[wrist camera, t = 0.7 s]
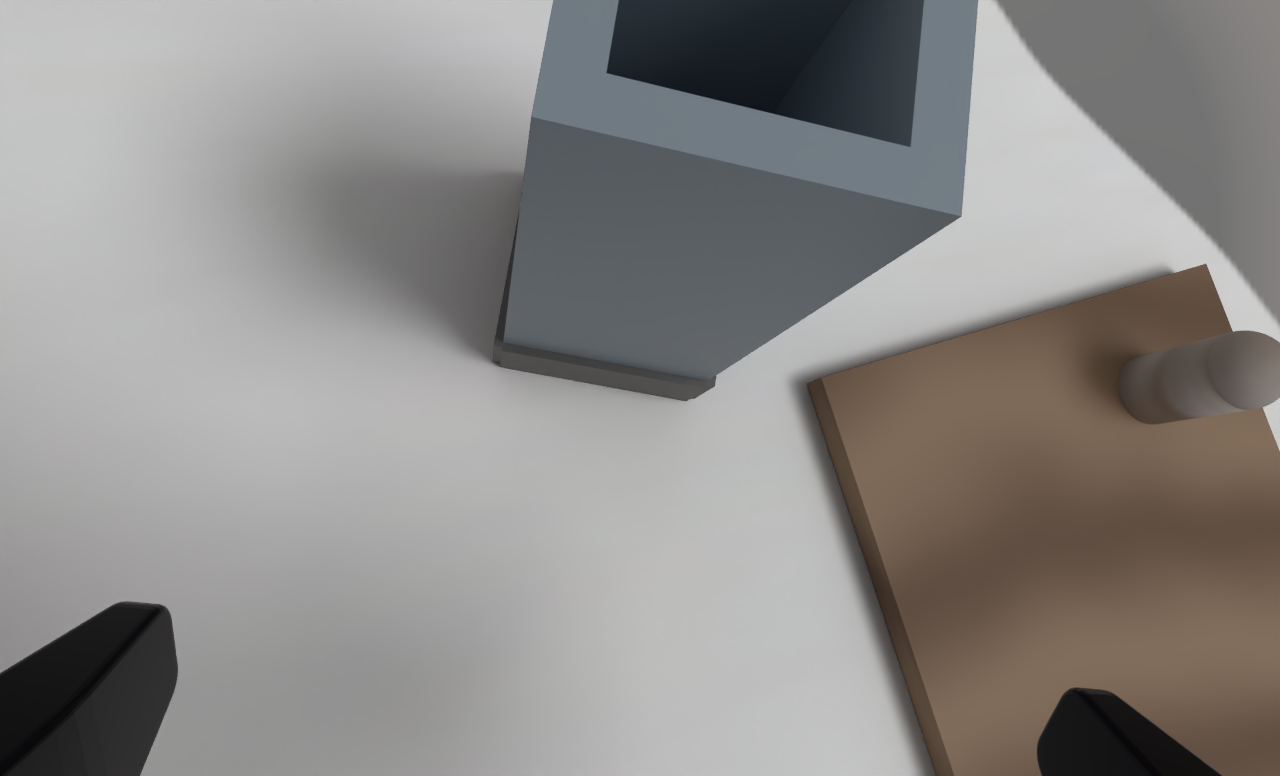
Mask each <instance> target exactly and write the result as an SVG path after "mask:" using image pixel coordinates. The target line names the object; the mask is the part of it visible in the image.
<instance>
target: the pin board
mask: <svg viewBox="0 0 1280 776" xmlns="http://www.w3.org/2000/svg"><path fill="white" fill-rule="evenodd" d="M807 386H808V389H809V392H810V395H811V398H812V401H813V404H814V407H815V410H816V413H817V416H818V419H819V422H820V425H821V428H822V431H823V434H824V437H825V440H826V443H827V446H828V449H829V452H830V455H831V458H832V461H833V464H834V467H835V470H836V473H837V476H838V479H839V482H840V485H841V488H842V491H843V494H844V497H845V500H846V503H847V506H848V509H849V512H850V516H851V519H852V522H853V525H854V528H855V531H856V534H857V537H858V540H859V543H860V546H861V549H862V552H863V555H864V558H865V561H866V564H867V567H868V570H869V573H870V576H871V579H872V582H873V585H874V588H875V591H876V594H877V597H878V600H879V603H880V606H881V609H882V612H883V615H884V618H885V621H886V624H887V627H888V630H889V633H890V636H891V639H892V642H893V645H894V648H895V651H896V654H897V657H898V660H899V663H900V666H901V669H902V672H903V675H904V678H905V681H906V684H907V687H908V690H909V693H910V696H911V699H912V702H913V705H914V708H915V711H916V714H917V717H918V720H919V723H920V726H921V729H922V732H923V735H924V738H925V741H926V744H927V747H928V750H929V754H930V757H931V760H932V763H933V766H934V769H935V772H936V775H937V776H1041V773H1040V769H1039V766H1038V761H1037V743H1038V739H1039V737H1040V735H1041V733H1042V731H1043V729H1044V727H1045V726H1046V724H1047V722H1048V720H1049V718H1050V716H1051V715H1052V713H1053V711H1054V709H1055V707H1056V705H1057V704H1058V702H1059V700H1060V698H1061V696H1062V695H1063V694H1064V692H1066V691H1067V690H1069V689H1070V688H1074V687H1079V688H1090V689H1101V690H1106V691H1110V692H1112V693H1114V694H1115V695H1117V696H1118V697H1120V698H1121V699H1122V700H1124V701H1125V702H1126V703H1127V704H1129V705H1130V706H1131V707H1133V708H1134V709H1135V710H1137V711H1138V712H1139V713H1141V714H1142V715H1143V716H1145V717H1146V718H1147V719H1148V720H1150V721H1151V722H1152V723H1154V724H1155V725H1156V726H1158V727H1159V728H1160V729H1162V730H1163V731H1164V732H1166V733H1167V734H1168V735H1170V736H1171V737H1172V738H1173V739H1175V740H1176V741H1177V742H1179V743H1180V744H1181V745H1183V746H1184V747H1185V748H1187V749H1188V750H1189V751H1191V752H1192V753H1193V754H1195V755H1196V756H1197V757H1198V758H1200V759H1201V760H1202V761H1204V762H1205V763H1206V764H1208V765H1209V766H1210V767H1212V768H1213V769H1214V770H1216V771H1217V772H1218V773H1220V774H1221V775H1222V776H1280V451H1279V449H1278V446H1277V444H1276V441H1275V439H1274V436H1273V433H1272V431H1271V428H1270V426H1269V423H1268V421H1267V418H1266V416H1265V413H1264V410H1263V408H1262V407H1264V406H1267V405H1269V404H1271V403H1272V402H1274V401H1276V400H1277V399H1278V398H1279V397H1280V343H1279V342H1278V341H1276V340H1275V339H1274V338H1272V337H1270V336H1268V335H1265V334H1262V333H1259V332H1254V331H1235V332H1233V331H1232V329H1231V326H1230V324H1229V321H1228V318H1227V316H1226V313H1225V311H1224V308H1223V306H1222V303H1221V301H1220V298H1219V295H1218V293H1217V290H1216V288H1215V285H1214V283H1213V280H1212V278H1211V275H1210V272H1209V270H1208V267H1207V265H1206V264H1204V265H1200V266H1197V267H1194V268H1190V269H1187V270H1183V271H1180V272H1177V273H1173V274H1170V275H1166V276H1163V277H1160V278H1156V279H1153V280H1150V281H1146V282H1143V283H1139V284H1136V285H1133V286H1129V287H1126V288H1123V289H1119V290H1116V291H1112V292H1109V293H1106V294H1102V295H1099V296H1096V297H1092V298H1089V299H1085V300H1082V301H1079V302H1075V303H1072V304H1068V305H1065V306H1062V307H1058V308H1055V309H1052V310H1048V311H1045V312H1041V313H1038V314H1035V315H1031V316H1028V317H1025V318H1021V319H1018V320H1014V321H1011V322H1008V323H1004V324H1001V325H997V326H994V327H991V328H987V329H984V330H981V331H977V332H974V333H970V334H967V335H964V336H960V337H957V338H954V339H950V340H947V341H943V342H940V343H937V344H933V345H930V346H926V347H923V348H920V349H916V350H913V351H910V352H906V353H903V354H899V355H896V356H893V357H889V358H886V359H883V360H879V361H876V362H872V363H869V364H866V365H862V366H859V367H855V368H852V369H849V370H845V371H842V372H839V373H835V374H832V375H828V376H825V377H822V378H819V379H817V380H815V381H812V382H810V383H808V384H807Z"/></svg>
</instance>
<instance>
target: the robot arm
mask: <svg viewBox="0 0 1280 776" xmlns="http://www.w3.org/2000/svg"><path fill="white" fill-rule="evenodd" d="M177 676H178V664H177V657H176V649H175V641H174V634H173V626H172V619H171V615H170V612H169V610H168V609H167V608H166V607H165V606H163V605H160V604H150V603H139V602H128V601H126V602H119V603H116V604H114V605H112V606H110V607H108V608H107V609H105V610H103V611H102V612H100V613H98V614H97V615H95V616H93V617H92V618H90V619H88V620H87V621H85V622H84V623H82V624H80V625H79V626H77V627H75V628H74V629H72V630H70V631H69V632H67V633H66V634H64V635H62V636H61V637H59V638H57V639H56V640H54V641H52V642H51V643H49V644H47V645H46V646H44V647H43V648H41V649H39V650H38V651H36V652H34V653H33V654H31V655H29V656H28V657H26V658H24V659H23V660H21V661H20V662H18V663H16V664H15V665H13V666H11V667H10V668H8V669H6V670H5V671H3V672H1V673H0V776H140V774H141V772H142V769H143V767H144V764H145V762H146V760H147V757H148V755H149V752H150V750H151V747H152V745H153V742H154V740H155V738H156V735H157V733H158V730H159V728H160V725H161V723H162V720H163V718H164V715H165V713H166V711H167V708H168V706H169V703H170V701H171V698H172V696H173V693H174V690H175V686H176V682H177ZM1037 761H1038V766H1039V769H1040V773H1041V776H1222V775H1221V774H1220V773H1218V772H1217V771H1216V770H1214V769H1213V768H1212V767H1210V766H1209V765H1208V764H1206V763H1205V762H1204V761H1202V760H1201V759H1200V758H1198V757H1197V756H1196V755H1195V754H1193V753H1192V752H1191V751H1189V750H1188V749H1187V748H1185V747H1184V746H1183V745H1181V744H1180V743H1179V742H1177V741H1176V740H1175V739H1173V738H1172V737H1171V736H1170V735H1168V734H1167V733H1166V732H1164V731H1163V730H1162V729H1160V728H1159V727H1158V726H1156V725H1155V724H1154V723H1152V722H1151V721H1150V720H1148V719H1147V718H1146V717H1145V716H1143V715H1142V714H1141V713H1139V712H1138V711H1137V710H1135V709H1134V708H1133V707H1131V706H1130V705H1129V704H1127V703H1126V702H1125V701H1124V700H1122V699H1121V698H1120V697H1118V696H1117V695H1115V694H1114V693H1112V692H1110V691H1106V690H1101V689H1090V688H1079V687H1074V688H1070V689H1069V690H1067V691H1066V692H1064V694H1063V695H1062V696H1061V698H1060V700H1059V702H1058V704H1057V705H1056V707H1055V709H1054V711H1053V713H1052V715H1051V716H1050V718H1049V720H1048V722H1047V724H1046V726H1045V727H1044V729H1043V731H1042V733H1041V735H1040V737H1039V739H1038V743H1037Z"/></svg>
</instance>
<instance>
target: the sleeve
mask: <svg viewBox="0 0 1280 776" xmlns="http://www.w3.org/2000/svg"><path fill="white" fill-rule="evenodd" d="M977 7H978V0H553V5H552V10H551V15H550V21H549V26H548V31H547V37H546V42H545V47H544V52H543V58H542V63H541V68H540V73H539V79H538V84H537V89H536V95H535V100H534V105H533V110H532V116H531V123H530V131H529V139H528V147H527V155H526V163H525V172H524V180H523V188H522V196H521V204H520V209H519V215H518V220H517V225H516V231H515V236H514V241H513V247H512V252H511V257H510V263H509V268H508V273H507V279H506V284H505V289H504V295H503V300H502V305H501V310H500V316H499V321H498V326H497V332H496V337H495V342H494V352H493V362H496V363H500V367H503V368H508V369H514V370H519V371H525V372H530V373H536V374H541V375H547V376H552V377H557V378H563V379H568V380H574V381H579V382H585V383H590V384H596V385H601V386H607V387H612V388H618V389H623V390H629V391H634V392H640V393H645V394H651V395H656V396H662V397H667V398H673V399H678V400H684V401H687V400H689V399H691V398H693V399H695V398H696V397H698V396H700V395H701V394H703V393H704V392H706V391H708V390H709V389H711V388H713V387H714V386H715V381H716V375H717V374H719V373H720V372H722V371H723V370H725V369H727V368H728V367H730V366H731V365H733V364H734V363H736V362H737V361H739V360H740V359H742V358H744V357H745V356H747V355H748V354H750V353H751V352H753V351H754V350H756V349H757V348H759V347H761V346H762V345H764V344H765V343H767V342H768V341H770V340H771V339H773V338H774V337H776V336H777V335H779V334H781V333H782V332H784V331H785V330H787V329H788V328H790V327H791V326H793V325H794V324H796V323H798V322H799V321H801V320H802V319H804V318H805V317H807V316H808V315H810V314H811V313H813V312H815V311H816V310H818V309H819V308H821V307H822V306H824V305H825V304H827V303H828V302H830V301H832V300H833V299H835V298H836V297H838V296H839V295H841V294H842V293H844V292H845V291H847V290H849V289H850V288H852V287H853V286H855V285H856V284H858V283H859V282H861V281H862V280H864V279H865V278H867V277H869V276H870V275H872V274H873V273H875V272H876V271H878V270H879V269H881V268H882V267H884V266H886V265H887V264H889V263H890V262H892V261H893V260H895V259H896V258H898V257H899V256H901V255H903V254H904V253H906V252H907V251H909V250H910V249H912V248H913V247H915V246H916V245H918V244H920V243H921V242H923V241H924V240H926V239H927V238H929V237H930V236H932V235H933V234H935V233H937V232H938V231H940V230H941V229H943V228H944V227H946V226H947V225H949V224H950V223H952V222H954V221H955V220H957V219H958V218H960V217H961V216H962V203H963V189H964V176H965V163H966V150H967V137H968V124H969V111H970V98H971V85H972V72H973V59H974V46H975V33H976V20H977Z"/></svg>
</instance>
